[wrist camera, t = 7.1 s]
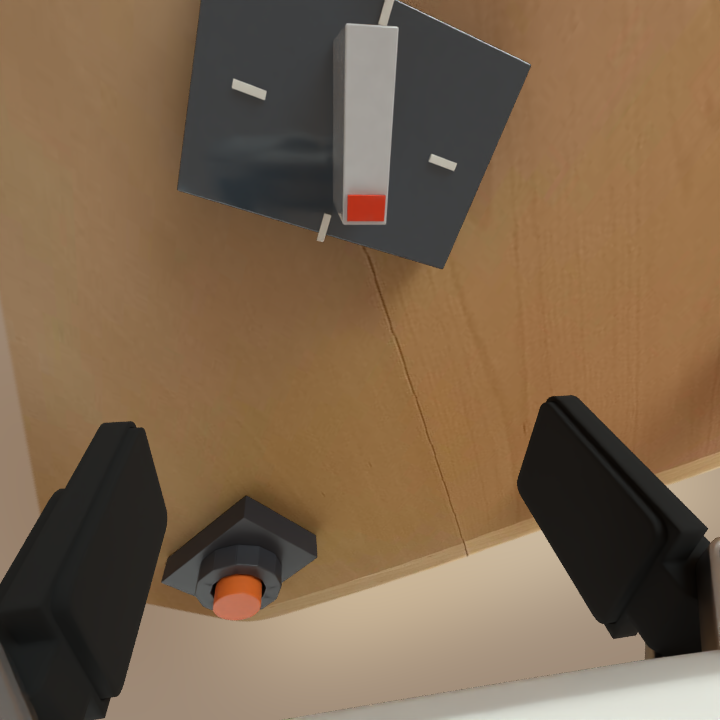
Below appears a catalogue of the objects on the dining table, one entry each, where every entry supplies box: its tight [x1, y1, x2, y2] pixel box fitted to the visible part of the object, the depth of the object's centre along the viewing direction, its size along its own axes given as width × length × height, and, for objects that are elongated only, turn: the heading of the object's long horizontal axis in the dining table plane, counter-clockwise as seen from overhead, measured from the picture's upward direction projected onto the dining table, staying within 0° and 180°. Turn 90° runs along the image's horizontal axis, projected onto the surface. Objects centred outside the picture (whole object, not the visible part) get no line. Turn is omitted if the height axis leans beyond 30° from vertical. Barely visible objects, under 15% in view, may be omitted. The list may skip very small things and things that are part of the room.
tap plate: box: [177, 0, 531, 269], centre depth 21 cm, size 14×11×3 cm
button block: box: [161, 496, 317, 610], centre depth 36 cm, size 8×10×4 cm
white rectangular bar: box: [333, 23, 399, 225], centre depth 18 cm, size 6×2×5 cm, turn 178°
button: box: [213, 574, 262, 620], centre depth 34 cm, size 4×4×2 cm
